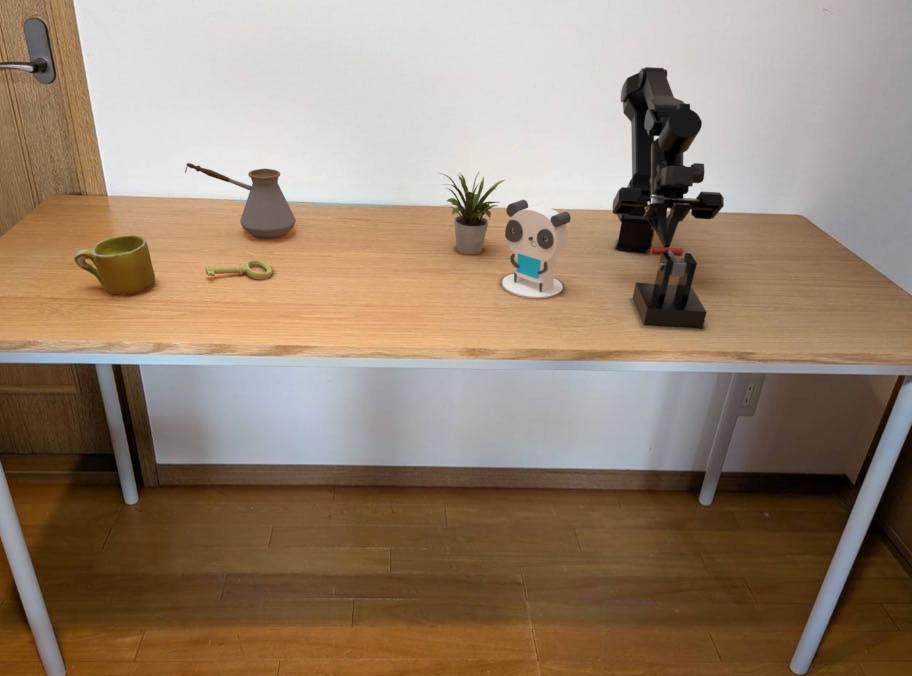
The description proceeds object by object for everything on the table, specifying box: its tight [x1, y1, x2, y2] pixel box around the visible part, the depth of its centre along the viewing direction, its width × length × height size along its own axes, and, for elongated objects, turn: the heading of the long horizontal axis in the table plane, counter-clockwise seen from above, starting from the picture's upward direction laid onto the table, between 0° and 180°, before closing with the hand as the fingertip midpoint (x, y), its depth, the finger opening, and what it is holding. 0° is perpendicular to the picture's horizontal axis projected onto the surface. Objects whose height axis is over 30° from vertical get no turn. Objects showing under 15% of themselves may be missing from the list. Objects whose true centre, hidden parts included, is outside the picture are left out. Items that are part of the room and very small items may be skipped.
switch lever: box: [649, 246, 687, 278], centre depth 131 cm, size 10×6×2 cm, turn 177°
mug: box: [73, 234, 156, 296], centre depth 132 cm, size 12×10×10 cm
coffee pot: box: [184, 162, 297, 241], centre depth 154 cm, size 21×12×15 cm, turn 99°
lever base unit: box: [632, 252, 707, 330], centre depth 130 cm, size 11×10×11 cm
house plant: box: [439, 169, 506, 255], centre depth 151 cm, size 14×14×16 cm
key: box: [205, 259, 273, 281], centre depth 139 cm, size 7×12×2 cm, turn 131°
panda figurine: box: [501, 199, 572, 299], centre depth 137 cm, size 12×11×15 cm
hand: (666, 247), depth 134 cm, fingers closed, pressing on switch lever
